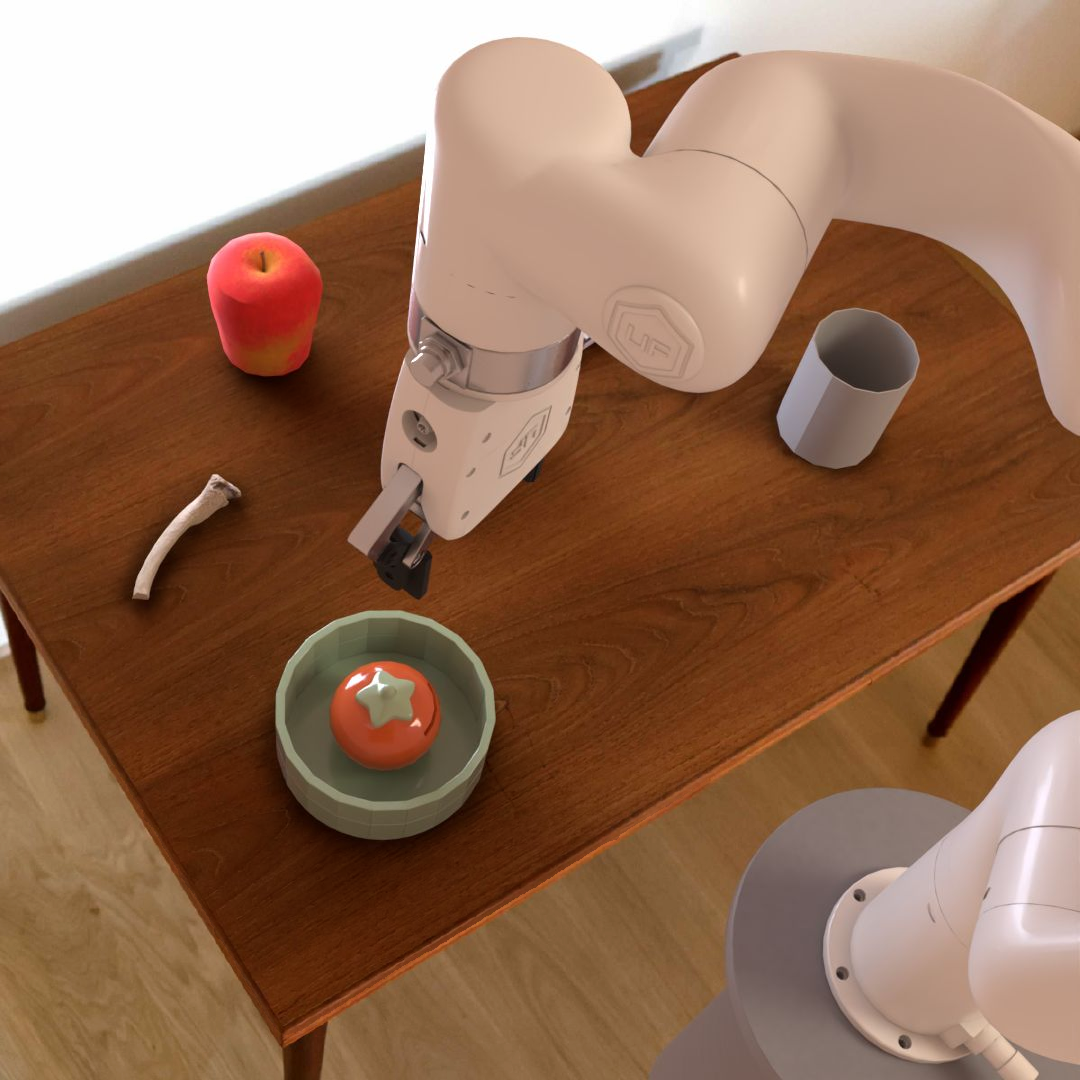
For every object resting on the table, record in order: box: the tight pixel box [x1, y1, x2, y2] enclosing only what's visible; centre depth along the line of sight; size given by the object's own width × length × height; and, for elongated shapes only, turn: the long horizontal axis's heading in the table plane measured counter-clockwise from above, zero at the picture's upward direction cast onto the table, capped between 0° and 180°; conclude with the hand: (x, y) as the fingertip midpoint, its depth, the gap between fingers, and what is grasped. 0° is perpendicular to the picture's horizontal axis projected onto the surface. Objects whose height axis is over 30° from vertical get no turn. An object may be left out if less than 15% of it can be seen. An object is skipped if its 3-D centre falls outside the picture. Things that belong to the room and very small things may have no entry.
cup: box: [776, 307, 921, 470], centre depth 111 cm, size 8×8×10 cm
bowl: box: [274, 610, 497, 841], centre depth 93 cm, size 14×14×6 cm
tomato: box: [329, 661, 442, 772], centre depth 92 cm, size 7×7×8 cm
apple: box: [206, 231, 324, 377], centre depth 106 cm, size 9×8×12 cm
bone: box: [131, 473, 242, 601], centre depth 100 cm, size 3×11×2 cm, turn 149°
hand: (458, 521), depth 75 cm, fingers open, 9 cm apart
